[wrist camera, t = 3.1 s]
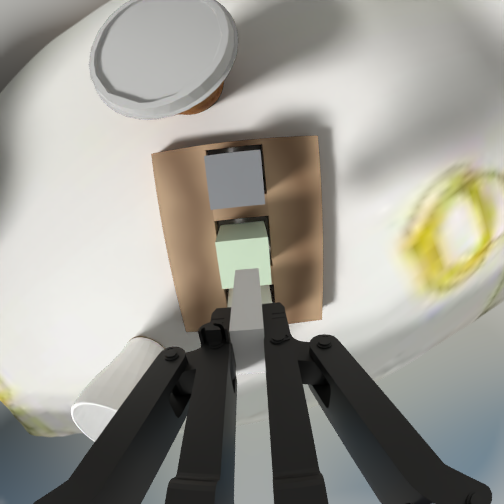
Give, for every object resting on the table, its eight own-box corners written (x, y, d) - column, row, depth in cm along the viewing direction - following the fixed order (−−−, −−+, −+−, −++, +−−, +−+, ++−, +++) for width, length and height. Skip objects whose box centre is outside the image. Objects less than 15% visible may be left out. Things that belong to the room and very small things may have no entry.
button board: (189, 321, 32) (186, 332, 30) (157, 153, 25) (151, 153, 23) (317, 310, 31) (321, 319, 30) (312, 136, 25) (317, 135, 23)
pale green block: (225, 265, 27) (222, 289, 23) (220, 225, 26) (214, 242, 21) (267, 260, 27) (271, 284, 23) (263, 220, 26) (268, 236, 21)
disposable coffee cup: (128, 81, 22) (62, 50, 11) (206, 27, 20) (183, -38, 9) (177, 150, 25) (129, 151, 14) (260, 94, 23) (272, 52, 12)
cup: (98, 341, 33) (55, 411, 20) (146, 308, 31) (103, 391, 18) (149, 389, 36) (126, 462, 23) (201, 365, 34) (188, 452, 21)
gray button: (217, 198, 25) (210, 210, 20) (212, 154, 24) (204, 155, 19) (261, 193, 25) (265, 204, 20) (257, 150, 24) (260, 149, 19)
